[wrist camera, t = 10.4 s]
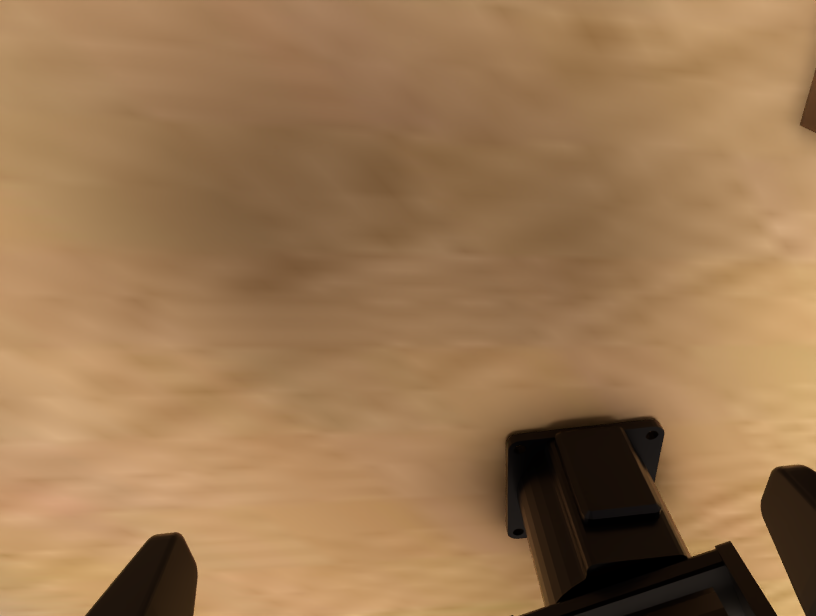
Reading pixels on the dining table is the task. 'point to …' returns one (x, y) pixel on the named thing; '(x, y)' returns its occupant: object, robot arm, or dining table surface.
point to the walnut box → (810, 108)
